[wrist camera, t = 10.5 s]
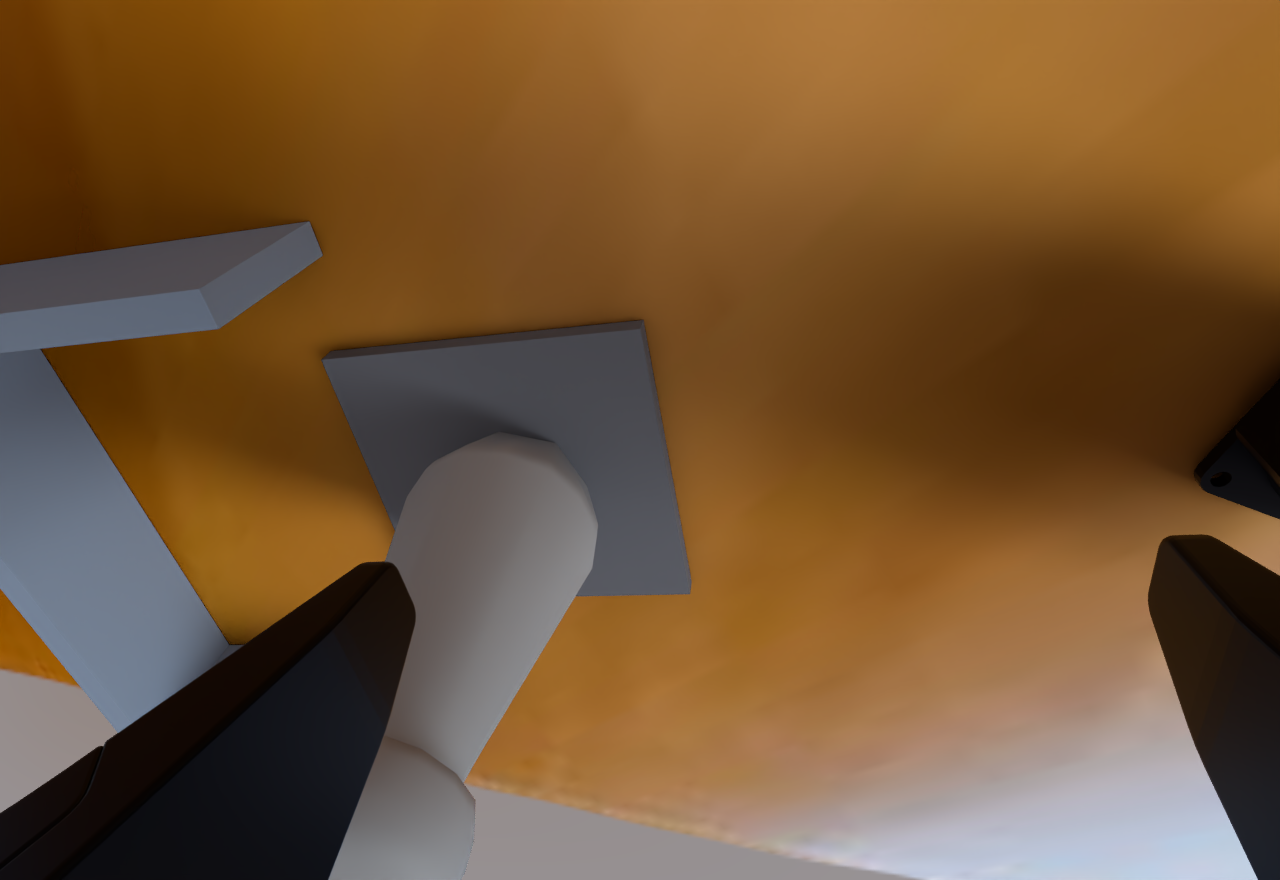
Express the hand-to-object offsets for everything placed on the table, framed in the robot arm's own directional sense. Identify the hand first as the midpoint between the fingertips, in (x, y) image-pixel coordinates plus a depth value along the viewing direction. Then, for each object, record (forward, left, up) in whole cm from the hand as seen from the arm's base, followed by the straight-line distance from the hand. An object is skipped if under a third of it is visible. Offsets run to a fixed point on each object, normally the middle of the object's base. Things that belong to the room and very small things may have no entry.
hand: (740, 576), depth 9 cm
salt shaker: (+4, +10, -13) cm, 17 cm away
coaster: (+4, +10, -13) cm, 17 cm away
